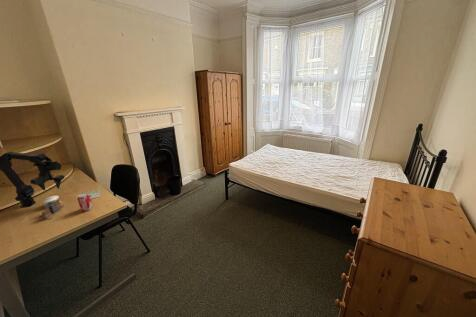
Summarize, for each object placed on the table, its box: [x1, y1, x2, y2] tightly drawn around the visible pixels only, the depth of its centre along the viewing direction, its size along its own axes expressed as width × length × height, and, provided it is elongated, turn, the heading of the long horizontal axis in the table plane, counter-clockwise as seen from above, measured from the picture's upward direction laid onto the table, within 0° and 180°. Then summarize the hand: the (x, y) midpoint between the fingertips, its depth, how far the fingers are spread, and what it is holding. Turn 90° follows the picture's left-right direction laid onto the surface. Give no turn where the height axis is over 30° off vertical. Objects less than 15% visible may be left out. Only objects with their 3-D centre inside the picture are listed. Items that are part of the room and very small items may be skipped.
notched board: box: [40, 199, 66, 221], centre depth 138 cm, size 6×16×6 cm, turn 13°
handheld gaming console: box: [85, 188, 101, 200], centre depth 161 cm, size 10×2×15 cm
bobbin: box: [42, 195, 62, 204], centre depth 147 cm, size 9×9×6 cm
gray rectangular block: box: [44, 202, 58, 214], centre depth 137 cm, size 4×4×7 cm
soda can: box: [77, 192, 94, 212], centre depth 140 cm, size 7×7×12 cm
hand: (51, 189), depth 147 cm, fingers open, 9 cm apart
